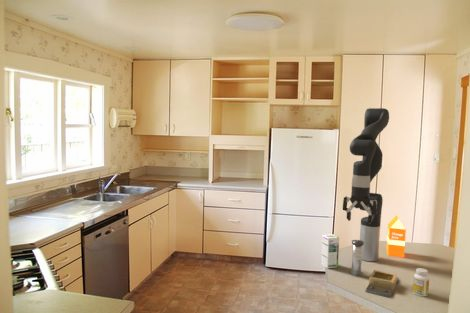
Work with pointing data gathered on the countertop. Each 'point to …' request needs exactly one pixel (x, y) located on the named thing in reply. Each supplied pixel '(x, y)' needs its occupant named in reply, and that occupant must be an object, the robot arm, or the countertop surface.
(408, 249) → the countertop surface
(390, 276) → the bolted socket base
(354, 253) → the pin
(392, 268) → the countertop surface
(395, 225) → the orange juice
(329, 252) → the syrup box
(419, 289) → the supplement bottle
